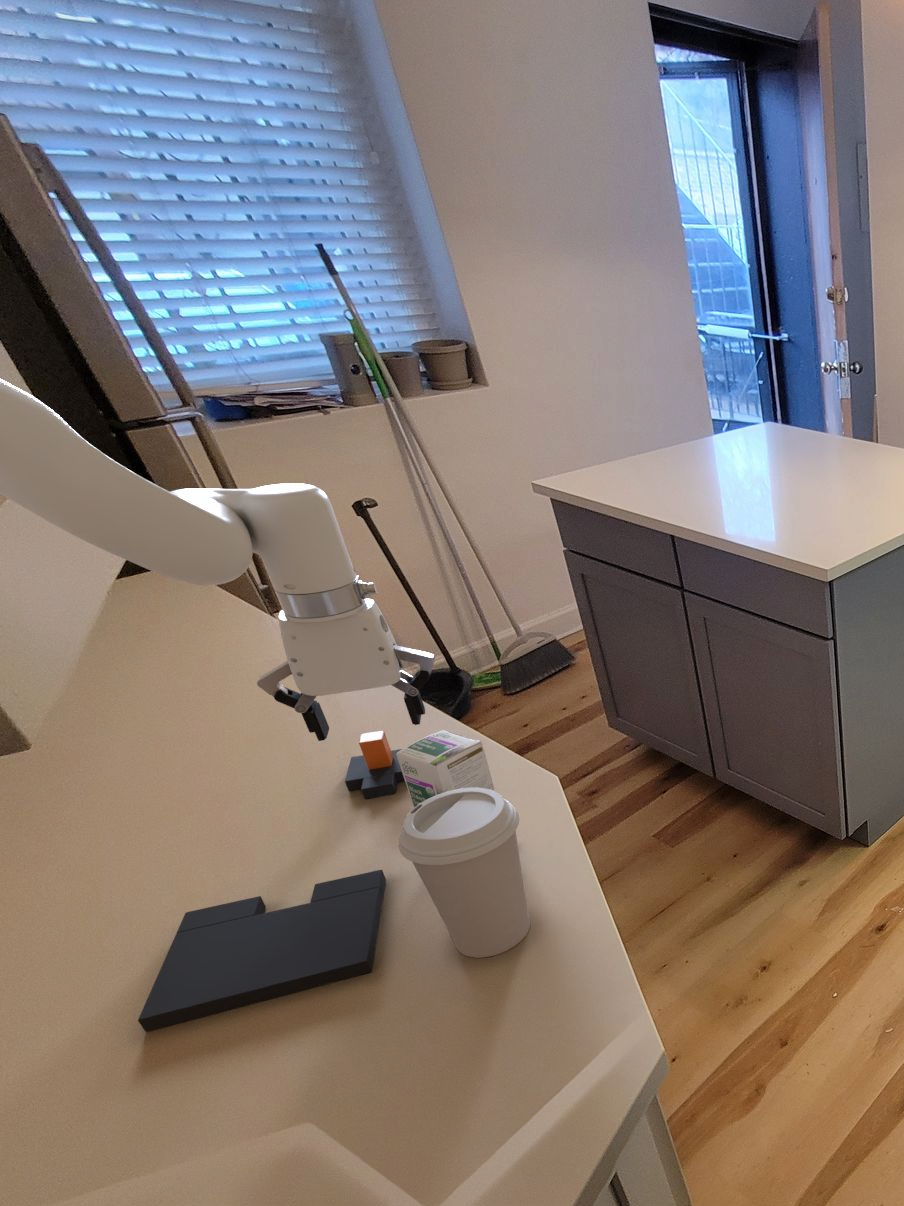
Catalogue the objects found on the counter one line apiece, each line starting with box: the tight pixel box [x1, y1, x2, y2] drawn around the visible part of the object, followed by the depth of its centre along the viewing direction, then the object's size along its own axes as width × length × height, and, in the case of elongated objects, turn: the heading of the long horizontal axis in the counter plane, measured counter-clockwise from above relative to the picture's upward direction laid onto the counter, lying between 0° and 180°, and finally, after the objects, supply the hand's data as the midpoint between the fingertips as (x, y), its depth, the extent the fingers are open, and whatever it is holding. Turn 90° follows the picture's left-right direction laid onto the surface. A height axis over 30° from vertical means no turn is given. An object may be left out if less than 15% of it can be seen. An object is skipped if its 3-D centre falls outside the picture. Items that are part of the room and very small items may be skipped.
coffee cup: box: [398, 788, 531, 959], centre depth 75 cm, size 10×10×15 cm
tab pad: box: [344, 730, 405, 800], centre depth 98 cm, size 7×9×6 cm
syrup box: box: [396, 729, 496, 808], centre depth 84 cm, size 6×6×14 cm
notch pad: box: [137, 869, 387, 1033], centre depth 75 cm, size 16×14×2 cm
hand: (371, 727), depth 97 cm, fingers open, 9 cm apart
